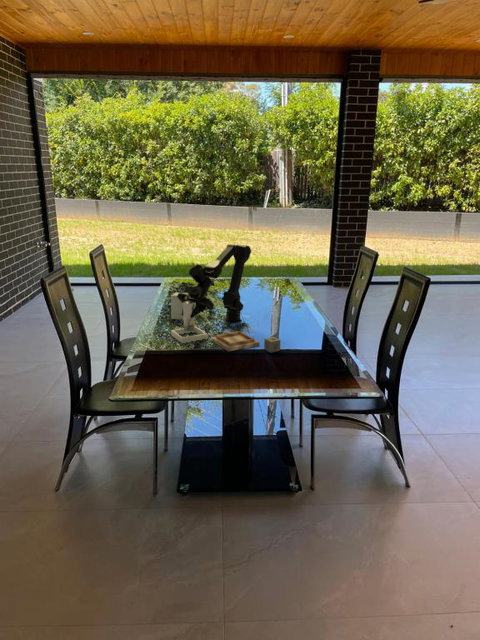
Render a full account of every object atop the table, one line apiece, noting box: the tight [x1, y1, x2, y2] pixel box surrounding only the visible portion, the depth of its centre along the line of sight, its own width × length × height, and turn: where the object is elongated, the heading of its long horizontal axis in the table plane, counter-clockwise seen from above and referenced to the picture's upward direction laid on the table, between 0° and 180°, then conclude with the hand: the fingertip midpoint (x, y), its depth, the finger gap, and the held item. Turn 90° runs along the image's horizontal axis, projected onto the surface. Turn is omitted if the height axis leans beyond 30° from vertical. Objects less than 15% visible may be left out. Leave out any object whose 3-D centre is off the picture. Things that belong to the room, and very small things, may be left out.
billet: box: [182, 301, 195, 331], centre depth 234 cm, size 5×5×13 cm
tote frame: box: [170, 325, 208, 344], centre depth 236 cm, size 13×13×2 cm
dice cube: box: [263, 336, 282, 353], centre depth 221 cm, size 5×5×5 cm
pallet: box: [211, 331, 261, 352], centre depth 230 cm, size 16×16×3 cm
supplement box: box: [170, 292, 189, 321], centre depth 265 cm, size 7×7×13 cm
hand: (186, 316), depth 233 cm, fingers closed on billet, 5 cm apart
